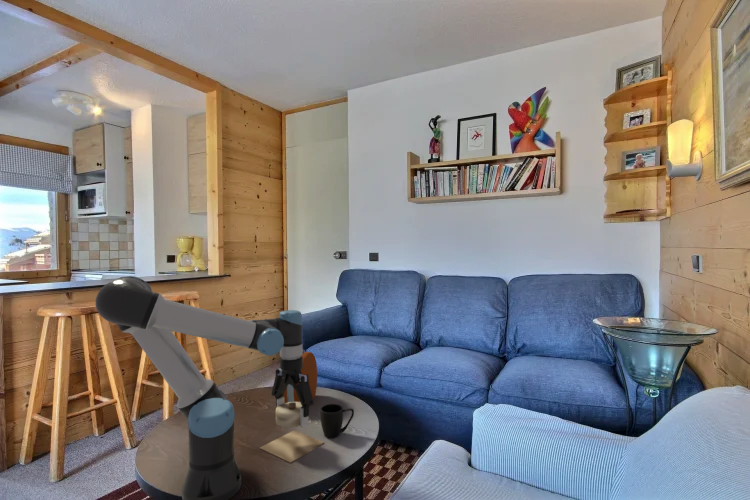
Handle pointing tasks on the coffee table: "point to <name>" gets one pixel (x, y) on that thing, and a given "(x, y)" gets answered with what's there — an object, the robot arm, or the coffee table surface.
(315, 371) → the alarm clock
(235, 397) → the coffee table surface
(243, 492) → the coffee table surface
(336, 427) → the mug
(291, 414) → the lid
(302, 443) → the mat
